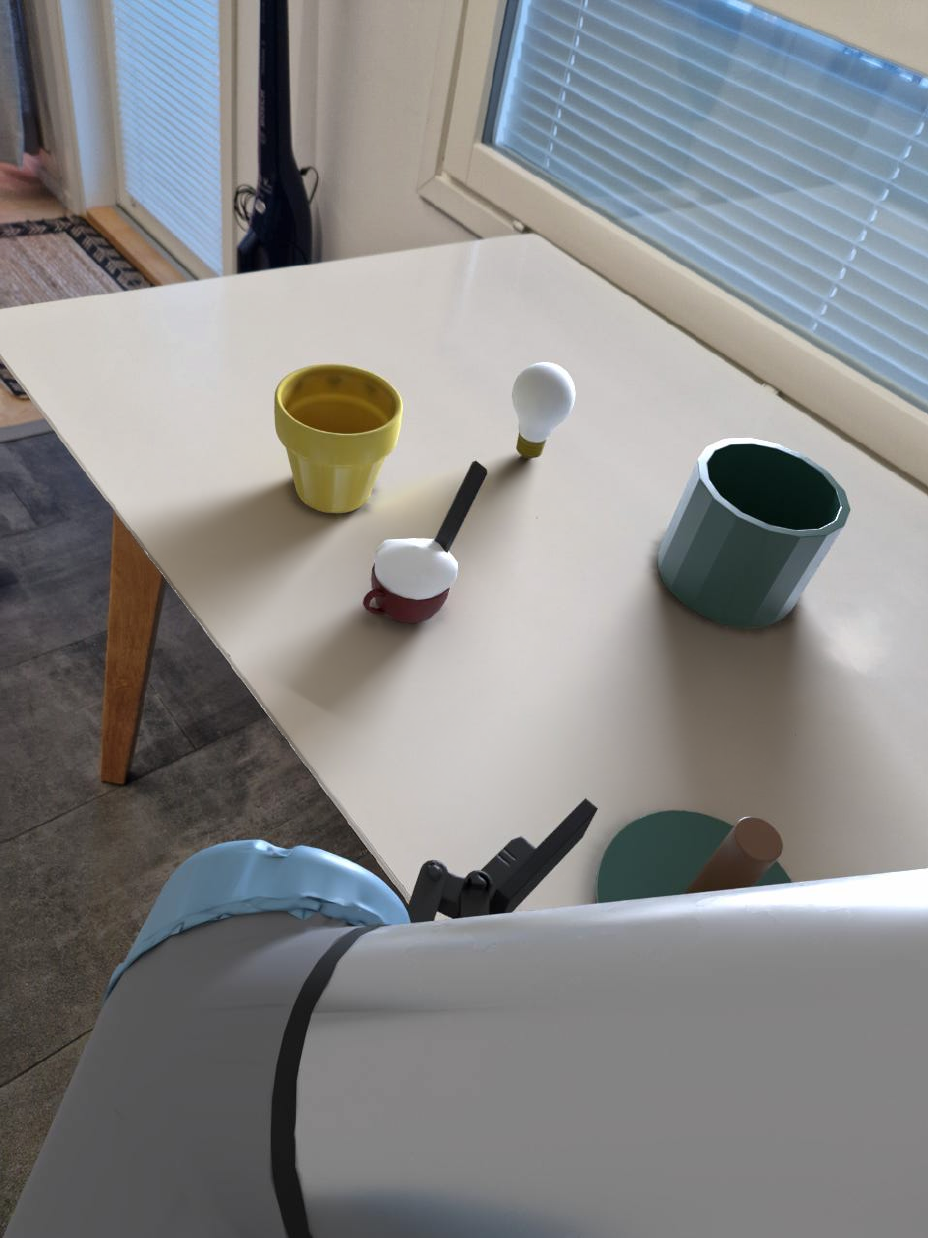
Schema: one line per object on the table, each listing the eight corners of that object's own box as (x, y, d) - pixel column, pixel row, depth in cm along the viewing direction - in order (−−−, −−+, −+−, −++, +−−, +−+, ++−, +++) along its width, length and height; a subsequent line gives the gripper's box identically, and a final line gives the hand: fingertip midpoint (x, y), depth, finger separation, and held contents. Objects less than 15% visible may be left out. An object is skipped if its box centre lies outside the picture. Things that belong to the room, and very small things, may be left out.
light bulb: (560, 448, 88) (586, 360, 81) (551, 481, 84) (577, 391, 77) (504, 432, 88) (525, 343, 81) (492, 465, 84) (513, 374, 77)
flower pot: (348, 546, 73) (356, 451, 66) (249, 494, 75) (247, 398, 68) (412, 487, 80) (426, 395, 73) (320, 441, 82) (325, 348, 75)
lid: (843, 942, 55) (926, 871, 48) (708, 1077, 48) (782, 1017, 41) (687, 786, 62) (740, 703, 55) (548, 886, 55) (589, 805, 48)
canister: (820, 595, 78) (878, 506, 71) (734, 648, 72) (788, 556, 64) (716, 514, 84) (760, 424, 77) (628, 556, 78) (667, 462, 70)
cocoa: (364, 642, 66) (379, 522, 57) (345, 584, 70) (356, 464, 61) (480, 625, 69) (510, 510, 60) (456, 571, 73) (481, 455, 64)
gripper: (124, 1103, 33) (481, 784, 46) (651, 1798, 24) (917, 1161, 37) (97, 1038, 28) (510, 697, 41) (763, 1902, 19) (1030, 1114, 31)
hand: (704, 917), depth 39 cm, fingers open, 13 cm apart
